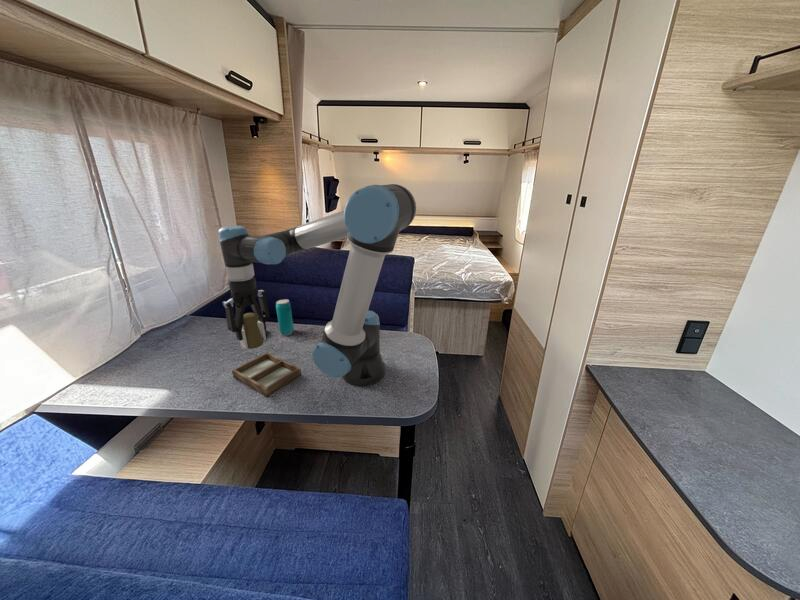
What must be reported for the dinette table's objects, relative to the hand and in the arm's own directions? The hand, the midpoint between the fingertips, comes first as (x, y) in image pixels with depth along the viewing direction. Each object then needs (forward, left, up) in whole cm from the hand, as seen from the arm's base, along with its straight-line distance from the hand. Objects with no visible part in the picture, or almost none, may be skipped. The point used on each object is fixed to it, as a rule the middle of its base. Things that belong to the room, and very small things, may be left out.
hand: (253, 342), depth 105 cm
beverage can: (+15, -24, -12) cm, 31 cm away
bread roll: (+25, -15, -12) cm, 32 cm away
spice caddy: (-5, 0, -12) cm, 13 cm away
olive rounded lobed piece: (0, 0, -1) cm, 1 cm away
